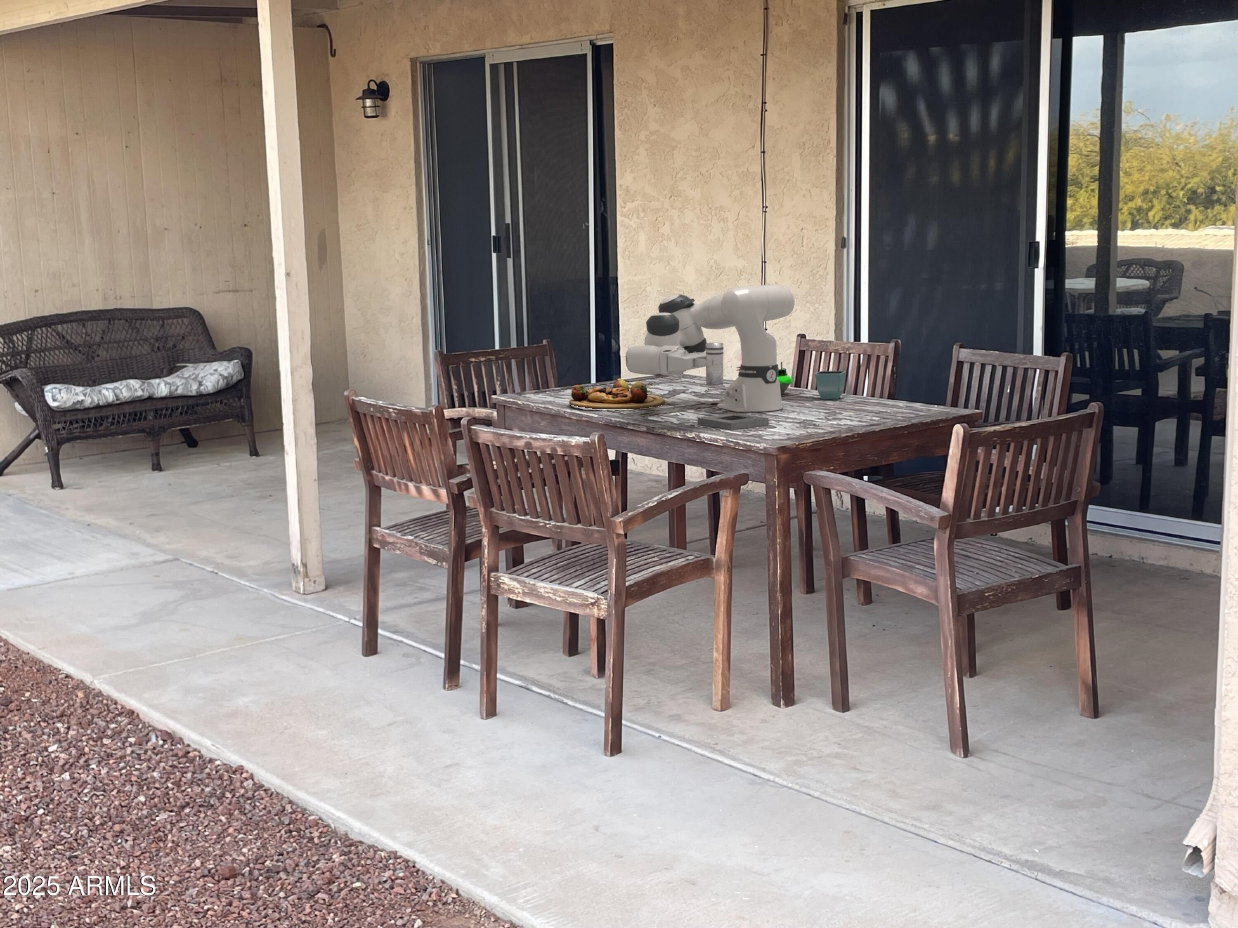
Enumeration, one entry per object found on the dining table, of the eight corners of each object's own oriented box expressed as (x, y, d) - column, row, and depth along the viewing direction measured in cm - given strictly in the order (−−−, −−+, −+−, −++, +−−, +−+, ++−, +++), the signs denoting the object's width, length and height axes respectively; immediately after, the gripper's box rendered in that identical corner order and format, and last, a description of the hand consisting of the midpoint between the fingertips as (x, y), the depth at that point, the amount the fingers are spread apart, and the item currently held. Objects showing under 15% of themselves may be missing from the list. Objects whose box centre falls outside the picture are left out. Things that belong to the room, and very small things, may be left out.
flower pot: (820, 397, 462) (819, 370, 461) (846, 397, 459) (846, 370, 458) (814, 400, 454) (814, 373, 452) (841, 400, 451) (841, 373, 450)
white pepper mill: (702, 384, 402) (701, 343, 400) (715, 383, 405) (715, 342, 403) (713, 385, 398) (713, 344, 396) (727, 384, 401) (727, 343, 399)
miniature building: (773, 392, 482) (772, 360, 481) (798, 393, 474) (798, 361, 472) (749, 395, 474) (749, 363, 473) (775, 397, 466) (774, 364, 464)
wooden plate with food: (557, 412, 449) (557, 387, 448) (583, 398, 480) (582, 375, 478) (653, 414, 442) (653, 389, 440) (673, 400, 472) (673, 376, 471)
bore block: (697, 424, 409) (697, 417, 409) (734, 419, 417) (734, 413, 416) (731, 430, 396) (731, 423, 396) (768, 424, 404) (768, 418, 403)
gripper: (691, 368, 416) (732, 369, 409) (659, 374, 399) (701, 375, 392) (690, 347, 415) (732, 348, 408) (658, 352, 398) (701, 353, 391)
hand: (717, 361), depth 400 cm, fingers closed on white pepper mill, 5 cm apart
